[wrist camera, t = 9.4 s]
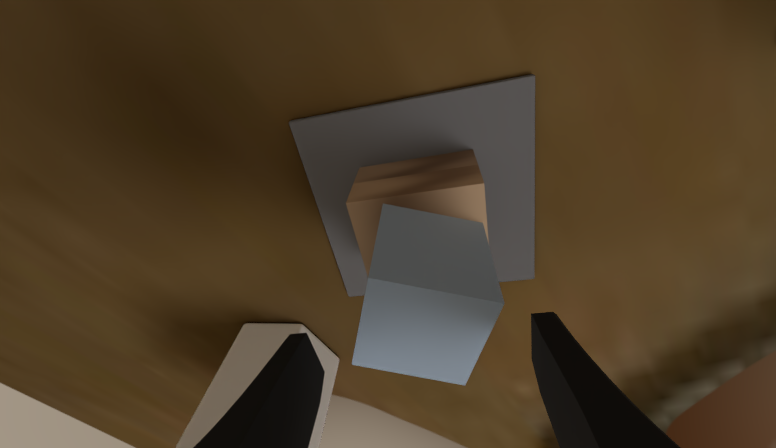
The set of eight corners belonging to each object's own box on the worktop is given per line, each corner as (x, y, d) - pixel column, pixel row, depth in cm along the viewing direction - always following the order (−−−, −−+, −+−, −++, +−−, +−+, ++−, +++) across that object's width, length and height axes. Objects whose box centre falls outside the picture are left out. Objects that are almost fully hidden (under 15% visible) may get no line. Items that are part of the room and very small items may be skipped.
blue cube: (482, 222, 16) (504, 303, 12) (455, 296, 18) (464, 385, 14) (382, 203, 16) (368, 277, 12) (368, 279, 18) (351, 364, 14)
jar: (359, 372, 29) (325, 569, 19) (286, 399, 32) (224, 582, 22) (284, 301, 26) (194, 497, 16) (210, 339, 29) (94, 525, 19)
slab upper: (478, 164, 17) (484, 183, 15) (486, 266, 20) (492, 291, 18) (353, 183, 18) (345, 203, 16) (379, 277, 21) (375, 302, 19)
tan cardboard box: (473, 149, 18) (478, 164, 17) (481, 244, 21) (486, 266, 20) (359, 167, 19) (353, 183, 18) (382, 256, 22) (379, 277, 21)
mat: (532, 74, 17) (535, 75, 16) (532, 274, 23) (534, 278, 22) (291, 120, 19) (288, 122, 18) (349, 292, 25) (348, 296, 24)
